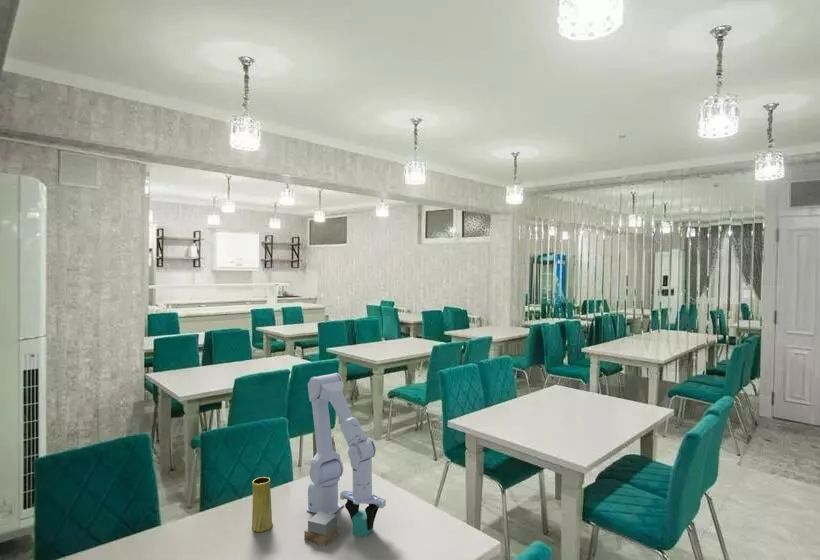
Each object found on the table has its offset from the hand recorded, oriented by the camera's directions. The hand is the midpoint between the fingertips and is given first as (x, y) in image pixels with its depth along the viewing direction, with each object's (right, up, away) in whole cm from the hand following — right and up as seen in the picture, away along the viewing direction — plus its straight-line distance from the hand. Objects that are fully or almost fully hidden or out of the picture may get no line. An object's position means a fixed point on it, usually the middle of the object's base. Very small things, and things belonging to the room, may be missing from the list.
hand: (363, 526), depth 139 cm
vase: (-31, -2, +3) cm, 31 cm away
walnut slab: (-12, -2, -2) cm, 12 cm away
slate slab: (-12, +1, -3) cm, 12 cm away
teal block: (0, -1, 0) cm, 1 cm away
